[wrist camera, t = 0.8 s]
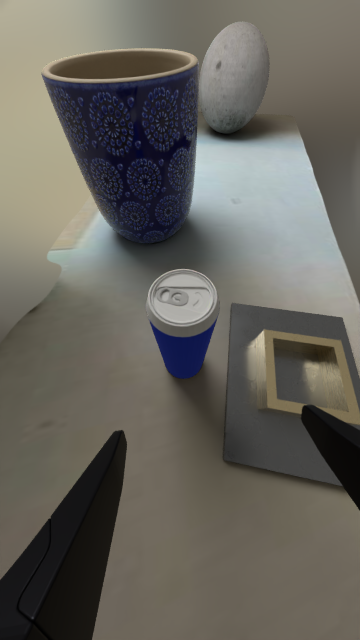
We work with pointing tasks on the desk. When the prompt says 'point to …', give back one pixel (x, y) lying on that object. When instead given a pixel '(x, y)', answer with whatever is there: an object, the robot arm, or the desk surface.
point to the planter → (132, 133)
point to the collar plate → (286, 387)
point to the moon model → (234, 77)
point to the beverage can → (183, 319)
